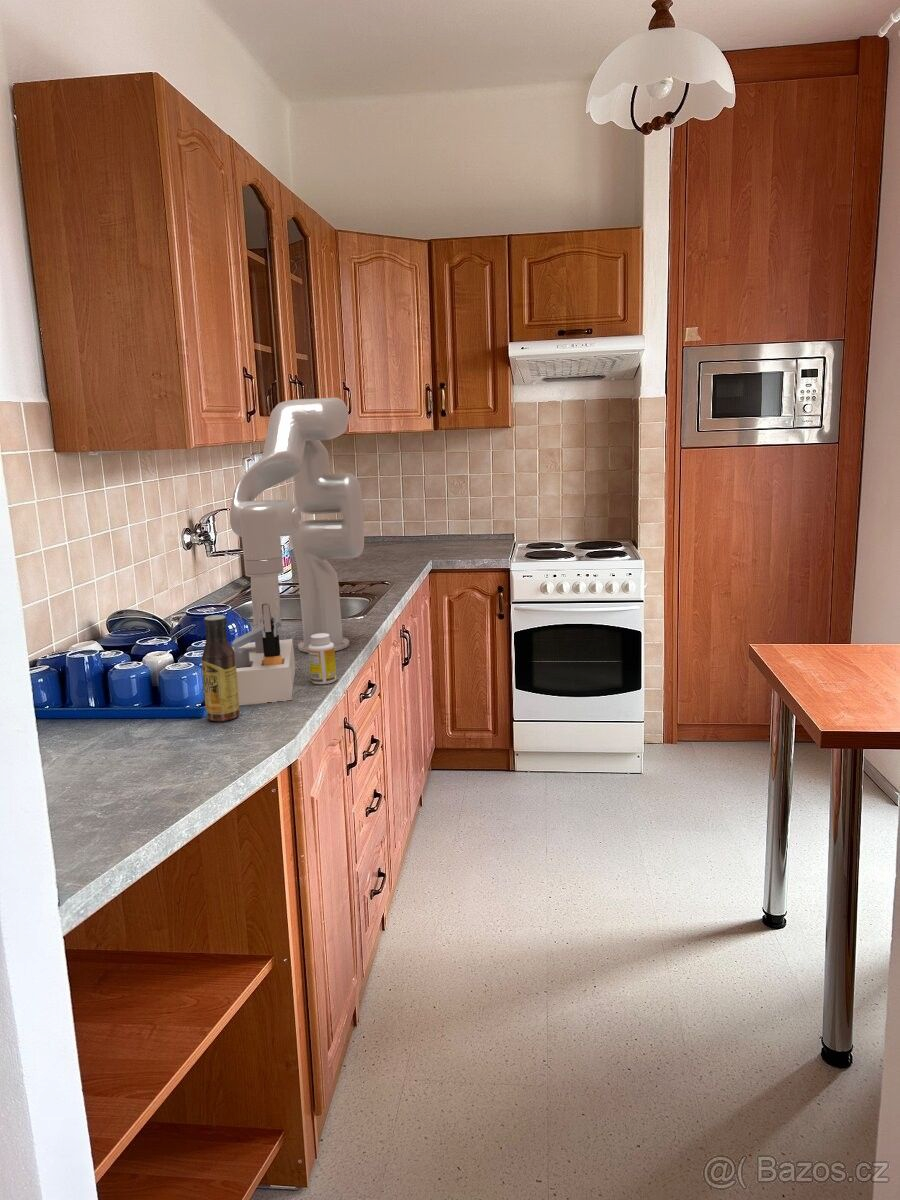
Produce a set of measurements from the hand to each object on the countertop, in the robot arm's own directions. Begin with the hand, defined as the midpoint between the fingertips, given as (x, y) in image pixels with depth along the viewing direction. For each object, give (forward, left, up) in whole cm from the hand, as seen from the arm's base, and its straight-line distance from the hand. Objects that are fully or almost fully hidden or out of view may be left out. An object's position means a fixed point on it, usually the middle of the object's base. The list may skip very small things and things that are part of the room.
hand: (272, 655), depth 181 cm
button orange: (0, 0, -8) cm, 8 cm away
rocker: (-12, -3, +1) cm, 12 cm away
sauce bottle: (+12, -9, -9) cm, 17 cm away
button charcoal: (0, -6, -6) cm, 9 cm away
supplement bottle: (-7, +10, -9) cm, 15 cm away
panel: (-7, -3, -8) cm, 11 cm away
